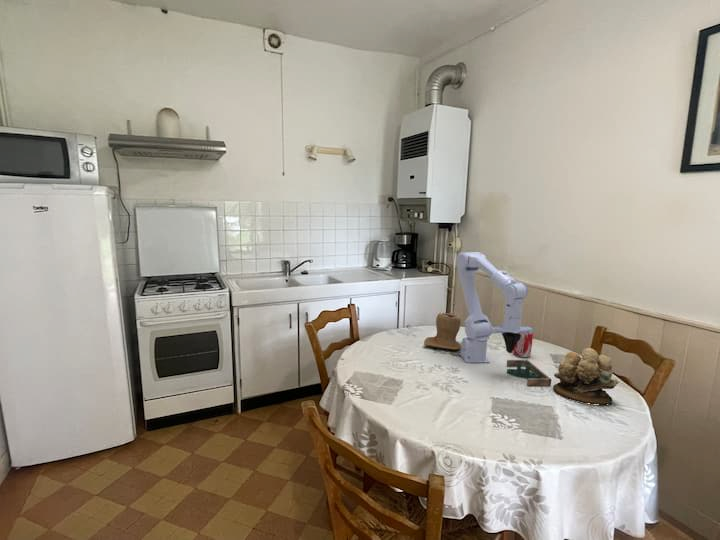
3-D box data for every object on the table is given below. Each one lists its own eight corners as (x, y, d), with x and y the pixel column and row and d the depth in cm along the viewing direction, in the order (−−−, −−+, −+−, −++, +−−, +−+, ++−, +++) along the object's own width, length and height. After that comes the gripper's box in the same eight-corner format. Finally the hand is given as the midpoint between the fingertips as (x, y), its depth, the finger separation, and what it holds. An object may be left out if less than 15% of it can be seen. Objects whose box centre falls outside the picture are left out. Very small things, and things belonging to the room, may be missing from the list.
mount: (506, 375, 136) (507, 362, 135) (506, 370, 140) (508, 358, 139) (539, 381, 132) (540, 368, 131) (538, 376, 136) (540, 363, 135)
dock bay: (527, 386, 127) (528, 379, 127) (506, 365, 144) (507, 359, 143) (550, 386, 128) (551, 379, 127) (526, 365, 144) (527, 359, 144)
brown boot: (461, 344, 166) (463, 312, 163) (458, 353, 155) (461, 319, 152) (428, 339, 171) (429, 308, 168) (423, 348, 160) (425, 315, 157)
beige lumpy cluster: (611, 394, 123) (619, 346, 120) (619, 411, 113) (627, 359, 110) (551, 382, 131) (557, 337, 128) (553, 397, 120) (559, 348, 117)
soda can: (533, 358, 151) (536, 331, 149) (516, 358, 151) (519, 330, 149) (526, 352, 158) (529, 325, 156) (510, 351, 158) (512, 324, 156)
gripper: (497, 319, 127) (494, 356, 129) (538, 319, 128) (534, 356, 130) (489, 313, 134) (486, 348, 136) (528, 313, 135) (524, 348, 137)
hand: (509, 351), depth 134 cm, fingers closed
